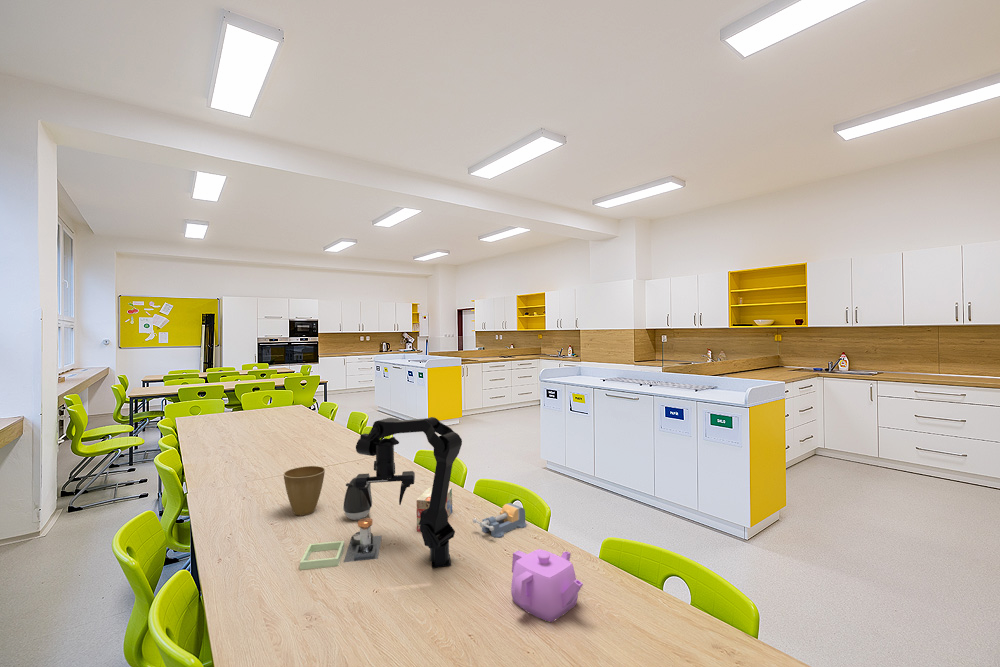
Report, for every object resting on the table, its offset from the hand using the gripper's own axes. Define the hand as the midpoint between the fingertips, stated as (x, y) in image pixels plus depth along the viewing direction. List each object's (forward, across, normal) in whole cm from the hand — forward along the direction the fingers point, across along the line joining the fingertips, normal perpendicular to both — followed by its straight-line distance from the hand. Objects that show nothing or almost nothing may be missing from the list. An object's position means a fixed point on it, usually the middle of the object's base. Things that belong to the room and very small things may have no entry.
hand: (385, 505), depth 145 cm
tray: (+13, +18, +6) cm, 23 cm away
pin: (+12, +6, +6) cm, 15 cm away
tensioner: (+13, +7, +2) cm, 15 cm away
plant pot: (+14, +35, -35) cm, 51 cm away
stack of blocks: (+14, -16, -16) cm, 27 cm away
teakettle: (+14, -44, +38) cm, 60 cm away
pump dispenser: (+14, +14, -26) cm, 32 cm away
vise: (+14, -39, -6) cm, 42 cm away
